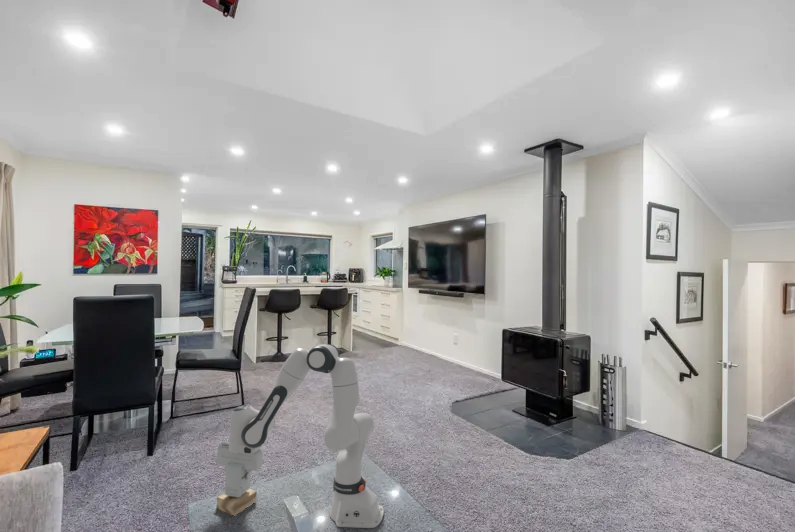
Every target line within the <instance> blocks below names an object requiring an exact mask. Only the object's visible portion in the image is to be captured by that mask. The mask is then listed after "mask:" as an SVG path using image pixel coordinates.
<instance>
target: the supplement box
mask: <svg viewBox="0 0 795 532" xmlns="http://www.w3.org/2000/svg"><path fill="white" fill-rule="evenodd" d="M247 473H248V472H247V469H244V465H242V464H236V463H228V464H227V465H226V471H225V484H224V485H225V487H224V493H225V495H228V496H233V497H240V496H241V495H243V494H244V493H245V492H246V491H247V490H248V489H251V478H250V479H248V480H246V479H245V475H246V474H247ZM251 475H252V473H251V474H250V477H252V476H251Z"/></svg>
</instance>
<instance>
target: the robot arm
mask: <svg viewBox="0 0 795 532" xmlns="http://www.w3.org/2000/svg"><path fill="white" fill-rule="evenodd" d="M340 354H341V353H340V351H339V349H338V347H336V346H335V345H334V344H330V343H325V344H324V343H323V344H318V345H317V346H313V347H312V348H311V349H310V350H308V349H307V348H304V347H297V348H296V349H294V350H293V352H292V353H291V354H290V355H289V356H288V357H287V359H286V360H285V361H284V362H283V364H282V366H281V368H280V370H279V371H278V374H277V376H276V378H275V380H274V383H273V385H272V387H271V390H270V393H269V395H268V397H267V399H266V401H265V402H264V404H263V405H262V407H261V409H260V410H258V409H256V408H254V407H253V406H252V405H250V404H243V405H238V406H237V407H235V408H234V409H233V410H232V411H231V414H230V420H229V432H230V433H229V436H228V442H224V441H222V442H220V443H219V444H218V446H217V453H216V459H215V463H216V465H217V466H219V467H220V466H221V467H224V470H225V472H226V465H227V464H228V463H236V464H242V465H244V469H247V472H248V473H247V474H246V475H245V479H246V480H248V479H250V480H251V476H250V474H251V475H252V473H253V471H255V472H256V471H258V470H259V469H260V468H261V467H262V466H263V451H262V449H261V448H262V446H263V445H264V444H265V442H266V440H267V438H268V436H269V435H270V434H271V432H272V431H273V429H274V427H275V425H276V424H275V422H276V421H275V416H276V415H277V413H278V412H279V410H280V408H281V407H282V406H283V405H284V404H285V402H286V401H287V400H288V399H289V398H290V397H291V396H292V395H293V394H294V393H295V392H296V390H298V389H299V388H300V386H301V385H302V383H303V381H304V380H305V378H306V377H307V375H308V373H309V372H310V371H311V370H312V371H314V372H318V373H323V374H330V378H331V386H332V387H331V389H332V399H333V402H332V403H333V405H332V413H331V416H330V420H329V423H328V425H327V426H326V429H325V430H324V433H323V444H324V445H325V447H326V448H327V450H329V452H332V453H333V452H338V454H337V456H336V458H335V462H334V465H335V466H334V467H335V469H334V477H333V483H332V484H333V485H332V490H333V495H332V496H333V497H332V504H331V507H330V510H329V517H330V518H331V520H332V521H333V522H334V523H335V525H336V527H338V528H357V529H358V528H359V529H360V528H361V529H374V528H376V527H378V526H379V525H380V524H381V522H382V520H383V519H384V514H385V513H384V507H383V506H382V505H379V500H378V496H377V495H376V494H375V493H374V492H373V491H372V490H371V489H370V488H368V487H367V486H366V485H367V484H366V483H367V478H365V479H364V478H363V476H362V469H363V467H362V466H363V459H364V458H363V457H364V455H365V454H364V453H365V450H366V446H367V444H368V440H369V438H370V436H371V435H372V433H373V432H374V429H375V422H374V419H373V418H372V416H371V415H370V414H369V413H368V412H358V413H355V412H356V409H357V406H358V405H359V403H360V391H359V390H360V389H359V381H358V374H357V369H356V365H355V362H354V361H353V360H352V359H351V358H349V357H340V356H341V355H340Z"/></svg>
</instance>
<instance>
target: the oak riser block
mask: <svg viewBox="0 0 795 532" xmlns="http://www.w3.org/2000/svg"><path fill="white" fill-rule="evenodd" d="M254 502H256V503H257V490H254V489H252V488H250V489H248V490H247V491H246V492H245V493H244V494H243V495H241V496H240V497H233V496H228V495H225V492H223V493H221V494H219V495H218V496H216V509H217V510H219V511H222V512H224V513H226V514H228V515H230V516H232V515H236V514H238V513H239V512H241V511H242V512H244V511H245V510H246V509H245V508H246V507H247V506H249V505H250V504H252V503H254ZM244 509H245V510H244ZM243 510H244V511H243ZM242 512H241V513H242ZM239 514H240V513H239ZM239 514H238V515H239ZM236 516H237V515H236Z"/></svg>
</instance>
